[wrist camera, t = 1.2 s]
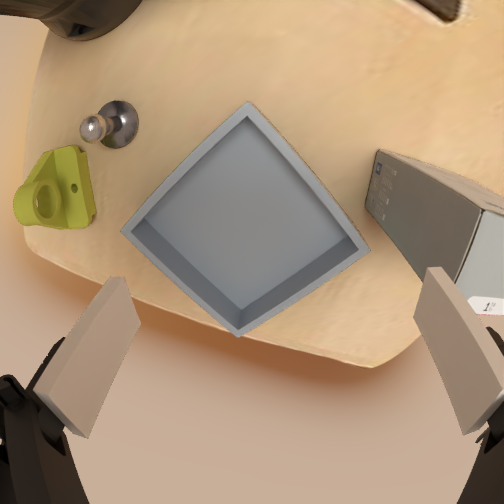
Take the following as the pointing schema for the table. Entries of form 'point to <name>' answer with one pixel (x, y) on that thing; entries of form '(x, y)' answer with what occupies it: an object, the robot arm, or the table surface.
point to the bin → (245, 225)
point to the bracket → (57, 191)
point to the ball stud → (111, 125)
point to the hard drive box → (442, 225)
